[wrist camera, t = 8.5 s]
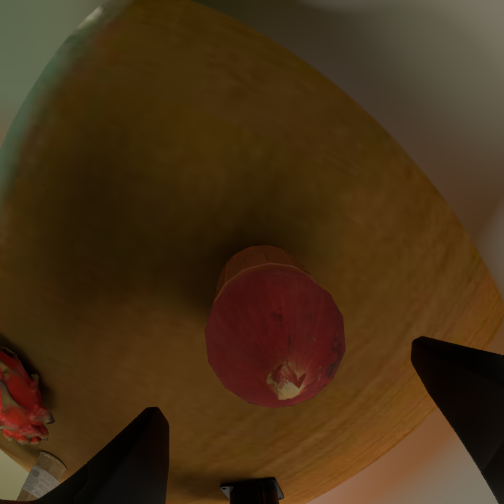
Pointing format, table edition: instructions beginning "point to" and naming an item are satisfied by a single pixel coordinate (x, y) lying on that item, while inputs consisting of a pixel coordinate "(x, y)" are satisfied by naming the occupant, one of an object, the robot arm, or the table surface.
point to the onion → (275, 338)
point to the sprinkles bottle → (42, 477)
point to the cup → (257, 264)
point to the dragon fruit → (21, 402)
